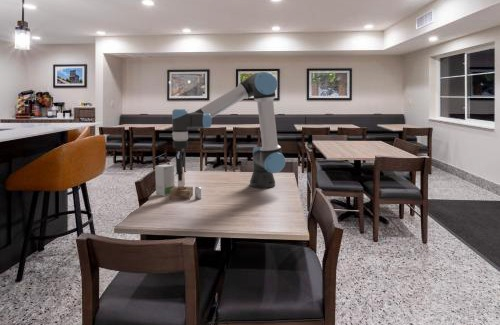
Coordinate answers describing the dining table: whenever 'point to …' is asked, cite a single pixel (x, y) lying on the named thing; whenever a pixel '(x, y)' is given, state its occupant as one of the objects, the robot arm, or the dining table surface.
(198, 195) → the short pin
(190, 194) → the socket block
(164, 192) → the skincare box
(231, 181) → the dining table surface
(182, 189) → the long pin
